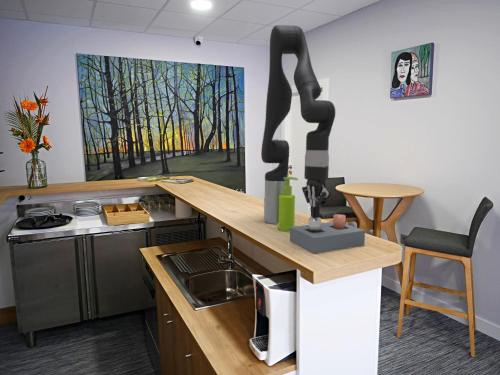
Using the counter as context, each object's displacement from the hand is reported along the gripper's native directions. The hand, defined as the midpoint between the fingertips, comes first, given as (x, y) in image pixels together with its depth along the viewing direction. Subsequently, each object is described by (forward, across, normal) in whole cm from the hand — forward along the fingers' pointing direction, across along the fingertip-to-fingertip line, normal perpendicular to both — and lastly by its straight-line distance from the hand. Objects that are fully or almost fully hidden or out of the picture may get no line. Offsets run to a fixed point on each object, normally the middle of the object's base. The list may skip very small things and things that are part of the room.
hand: (314, 217), depth 121 cm
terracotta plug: (+5, 0, +10) cm, 11 cm away
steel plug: (+5, 0, 0) cm, 5 cm away
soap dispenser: (+9, -20, +2) cm, 22 cm away
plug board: (+9, 0, +5) cm, 11 cm away
